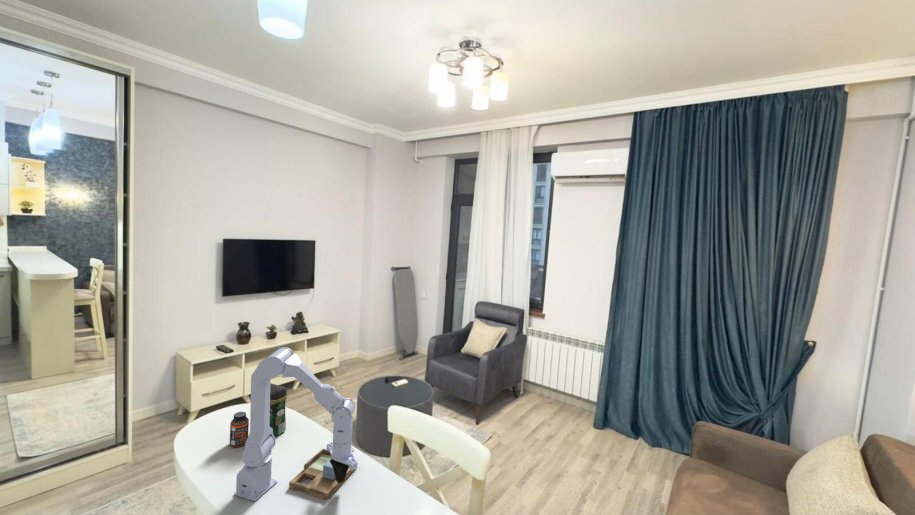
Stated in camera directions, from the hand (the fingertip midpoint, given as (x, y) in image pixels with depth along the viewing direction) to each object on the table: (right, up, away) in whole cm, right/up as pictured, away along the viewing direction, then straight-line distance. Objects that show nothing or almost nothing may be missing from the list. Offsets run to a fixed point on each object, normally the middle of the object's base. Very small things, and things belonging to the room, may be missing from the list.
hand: (340, 480), depth 120 cm
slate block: (-4, 0, +4) cm, 6 cm away
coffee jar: (-36, +2, +30) cm, 47 cm away
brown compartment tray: (-7, -2, +6) cm, 9 cm away
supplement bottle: (-44, +1, +21) cm, 49 cm away
